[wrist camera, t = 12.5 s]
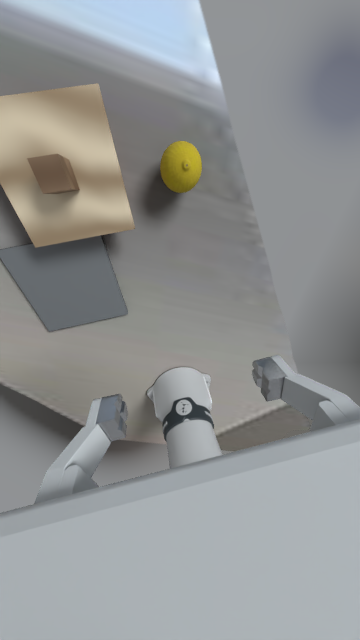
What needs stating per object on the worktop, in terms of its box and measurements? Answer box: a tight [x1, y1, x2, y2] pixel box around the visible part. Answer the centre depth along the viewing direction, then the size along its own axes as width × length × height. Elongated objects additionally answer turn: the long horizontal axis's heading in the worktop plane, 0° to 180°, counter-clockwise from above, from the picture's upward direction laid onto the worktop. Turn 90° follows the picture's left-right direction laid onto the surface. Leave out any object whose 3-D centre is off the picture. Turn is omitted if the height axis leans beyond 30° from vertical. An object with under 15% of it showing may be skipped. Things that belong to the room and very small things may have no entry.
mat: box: [0, 235, 128, 331], centre depth 36 cm, size 16×16×1 cm
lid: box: [0, 84, 135, 248], centre depth 22 cm, size 14×14×5 cm
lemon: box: [160, 141, 202, 193], centre depth 26 cm, size 6×6×8 cm
